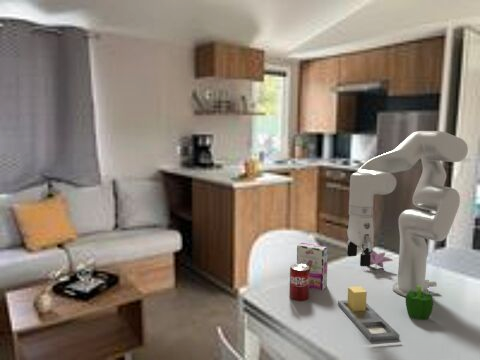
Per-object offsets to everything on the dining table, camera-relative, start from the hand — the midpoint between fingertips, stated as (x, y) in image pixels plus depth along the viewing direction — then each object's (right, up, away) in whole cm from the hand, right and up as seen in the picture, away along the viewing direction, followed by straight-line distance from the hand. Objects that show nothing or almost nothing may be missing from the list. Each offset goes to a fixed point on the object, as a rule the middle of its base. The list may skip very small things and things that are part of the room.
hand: (358, 260), depth 130 cm
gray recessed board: (+1, -19, -4) cm, 19 cm away
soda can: (-18, -17, +13) cm, 28 cm away
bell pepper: (+20, -19, -1) cm, 27 cm away
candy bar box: (-11, -15, +24) cm, 30 cm away
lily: (+20, -13, +42) cm, 48 cm away
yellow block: (0, -17, +2) cm, 18 cm away
